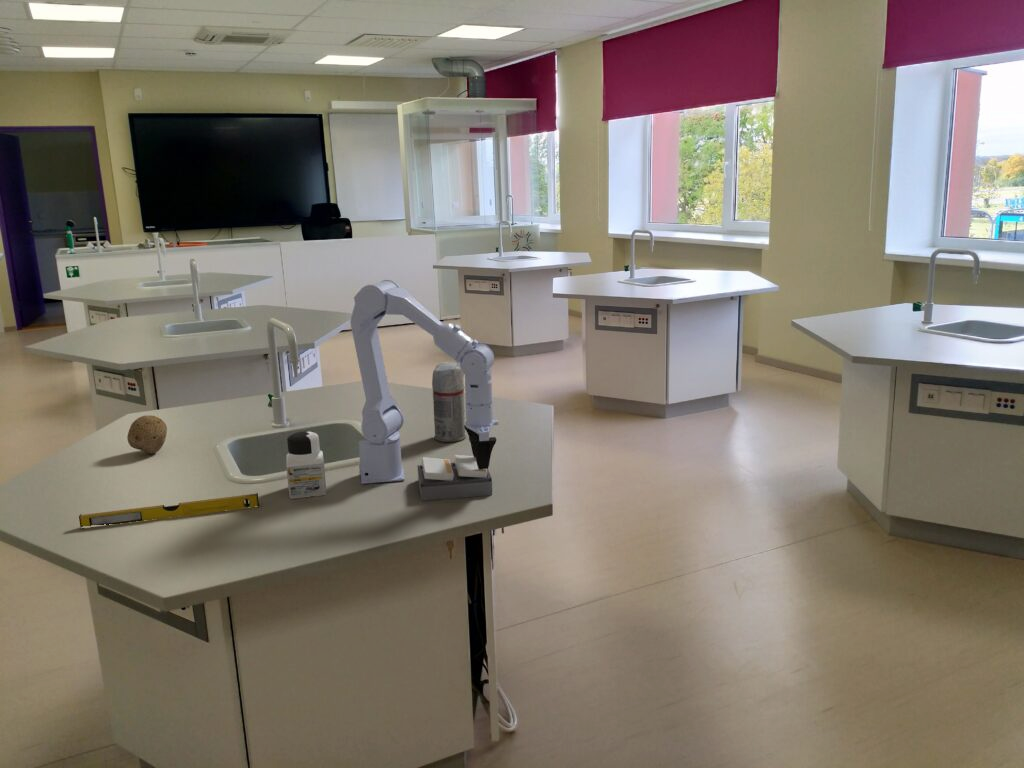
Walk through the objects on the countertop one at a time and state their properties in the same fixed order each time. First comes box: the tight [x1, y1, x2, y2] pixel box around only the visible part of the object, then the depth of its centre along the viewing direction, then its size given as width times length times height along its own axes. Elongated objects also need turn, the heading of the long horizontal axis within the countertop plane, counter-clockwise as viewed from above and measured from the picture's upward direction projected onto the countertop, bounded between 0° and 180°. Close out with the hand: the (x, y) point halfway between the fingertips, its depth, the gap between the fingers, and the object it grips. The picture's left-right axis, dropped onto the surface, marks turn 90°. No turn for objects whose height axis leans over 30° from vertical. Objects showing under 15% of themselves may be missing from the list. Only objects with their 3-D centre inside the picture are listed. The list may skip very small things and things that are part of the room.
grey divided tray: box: [416, 462, 493, 502], centre depth 172 cm, size 15×12×4 cm
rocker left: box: [421, 456, 454, 481], centre depth 171 cm, size 6×10×2 cm, turn 10°
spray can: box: [431, 361, 467, 443], centre depth 203 cm, size 8×8×20 cm
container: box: [285, 430, 328, 500], centre depth 171 cm, size 8×8×13 cm
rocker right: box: [453, 454, 487, 478], centre depth 172 cm, size 6×10×2 cm, turn 10°
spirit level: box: [78, 492, 260, 528], centre depth 160 cm, size 33×1×3 cm, turn 107°
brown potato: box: [126, 414, 168, 455], centre depth 197 cm, size 9×9×10 cm
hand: (480, 462), depth 172 cm, fingers open, 7 cm apart
